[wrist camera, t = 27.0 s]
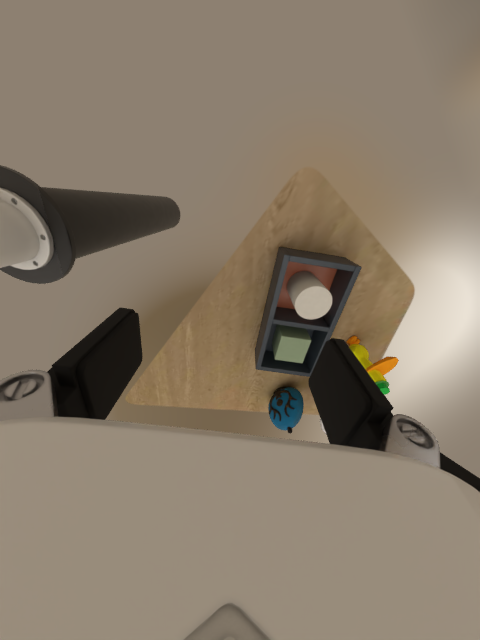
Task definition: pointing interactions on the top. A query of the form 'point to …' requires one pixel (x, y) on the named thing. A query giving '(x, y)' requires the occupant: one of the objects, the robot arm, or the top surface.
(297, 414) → the ornament
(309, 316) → the white cylinder
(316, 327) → the dark grey divided tray
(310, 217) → the top surface
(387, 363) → the toy figure
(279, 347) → the sage block
